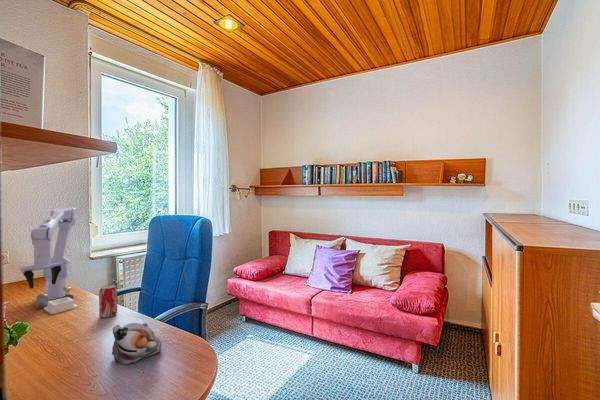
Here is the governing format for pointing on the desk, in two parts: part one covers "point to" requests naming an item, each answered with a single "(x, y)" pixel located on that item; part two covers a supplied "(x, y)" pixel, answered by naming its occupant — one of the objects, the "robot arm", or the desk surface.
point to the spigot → (42, 301)
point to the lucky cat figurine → (134, 343)
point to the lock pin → (67, 291)
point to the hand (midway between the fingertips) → (42, 286)
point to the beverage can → (107, 301)
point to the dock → (60, 305)
